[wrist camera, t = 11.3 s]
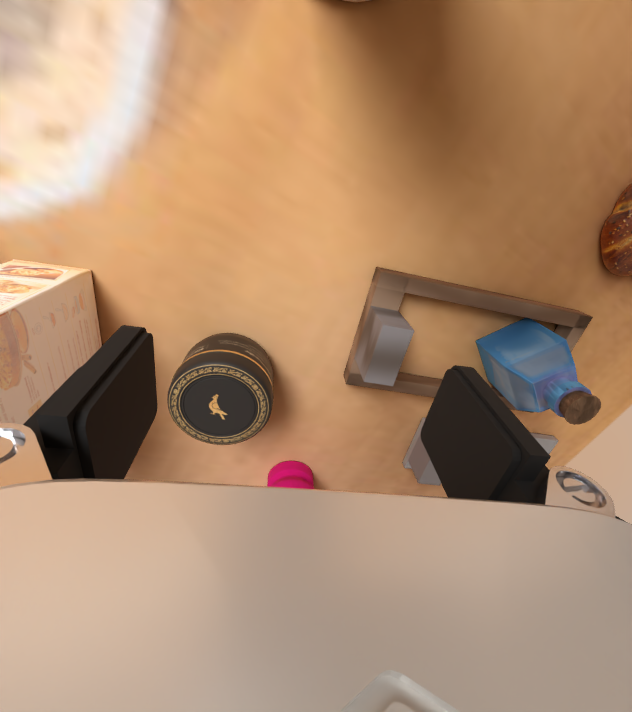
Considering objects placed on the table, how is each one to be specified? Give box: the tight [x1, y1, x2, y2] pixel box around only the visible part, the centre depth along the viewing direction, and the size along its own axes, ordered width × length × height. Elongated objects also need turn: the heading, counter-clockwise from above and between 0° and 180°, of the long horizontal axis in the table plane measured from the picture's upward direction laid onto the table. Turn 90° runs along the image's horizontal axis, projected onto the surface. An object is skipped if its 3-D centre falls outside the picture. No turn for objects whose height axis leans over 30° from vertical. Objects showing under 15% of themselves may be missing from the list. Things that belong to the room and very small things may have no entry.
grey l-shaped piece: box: [402, 418, 558, 485], centre depth 46 cm, size 8×20×5 cm, turn 77°
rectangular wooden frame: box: [344, 267, 593, 412], centre depth 37 cm, size 13×24×7 cm, turn 77°
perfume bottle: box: [476, 318, 601, 425], centre depth 36 cm, size 6×6×12 cm
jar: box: [168, 333, 273, 445], centre depth 36 cm, size 10×10×8 cm
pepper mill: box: [267, 461, 315, 489], centre depth 39 cm, size 7×7×20 cm
